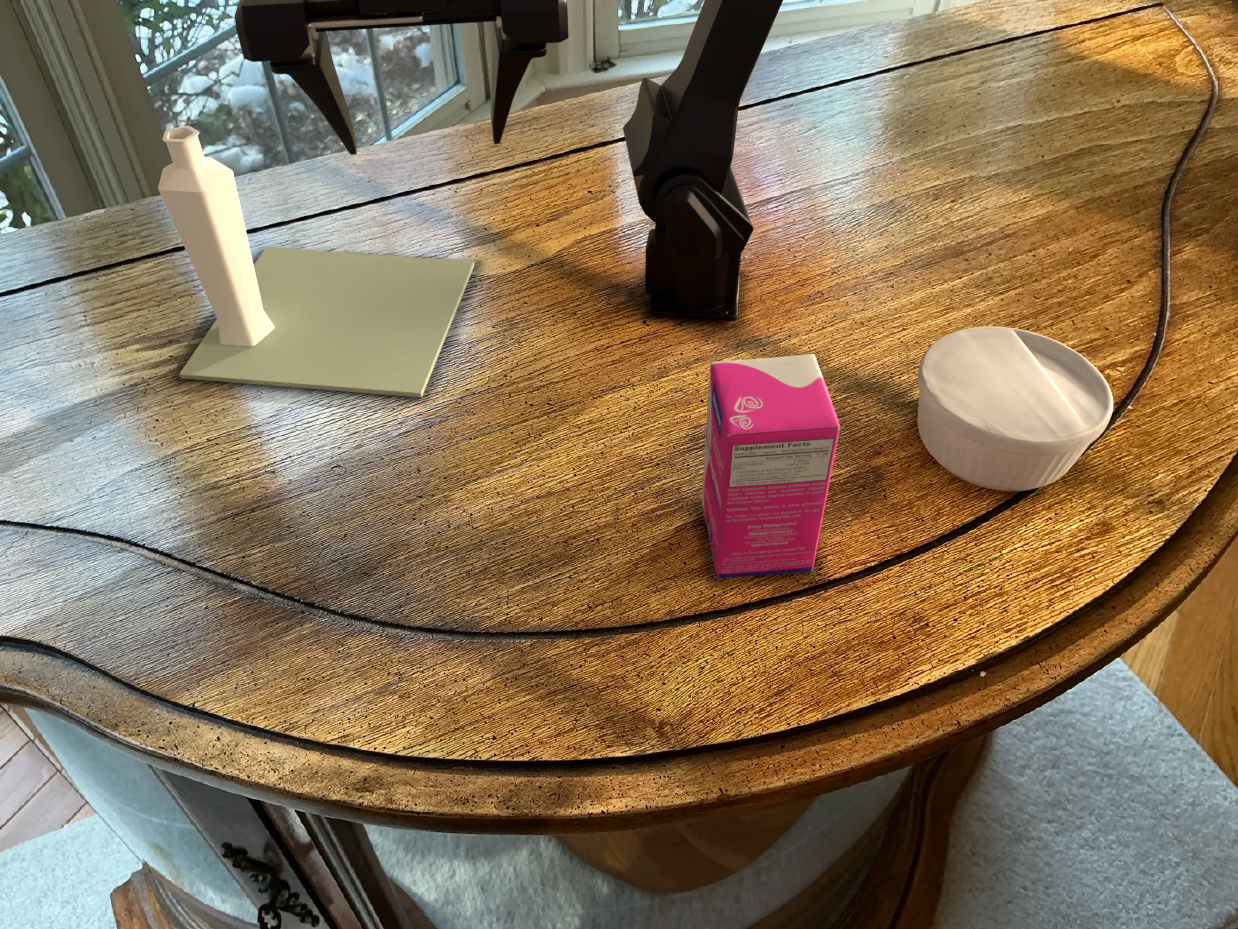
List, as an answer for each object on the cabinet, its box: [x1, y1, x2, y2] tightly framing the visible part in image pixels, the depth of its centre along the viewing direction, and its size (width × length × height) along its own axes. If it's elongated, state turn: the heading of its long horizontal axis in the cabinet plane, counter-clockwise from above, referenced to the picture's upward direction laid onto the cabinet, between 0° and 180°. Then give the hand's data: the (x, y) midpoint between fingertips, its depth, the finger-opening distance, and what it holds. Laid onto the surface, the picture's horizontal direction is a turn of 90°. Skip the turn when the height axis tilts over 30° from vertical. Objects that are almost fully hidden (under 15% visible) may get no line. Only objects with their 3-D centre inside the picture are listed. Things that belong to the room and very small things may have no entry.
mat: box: [178, 247, 475, 398], centre depth 72 cm, size 17×16×1 cm
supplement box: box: [701, 353, 841, 580], centre depth 53 cm, size 6×6×12 cm
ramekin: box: [916, 325, 1114, 492], centre depth 61 cm, size 11×11×5 cm
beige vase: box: [157, 125, 275, 346], centre depth 65 cm, size 5×4×15 cm
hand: (425, 146), depth 64 cm, fingers open, 9 cm apart
